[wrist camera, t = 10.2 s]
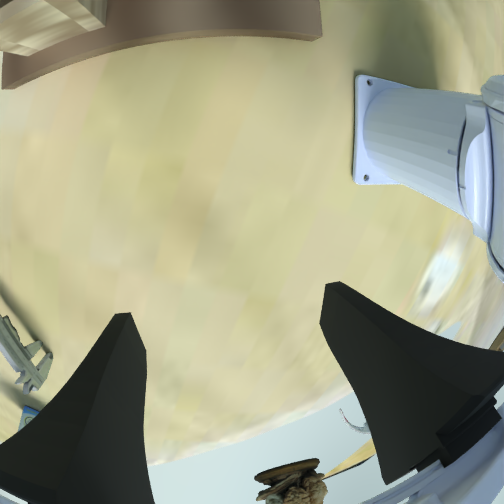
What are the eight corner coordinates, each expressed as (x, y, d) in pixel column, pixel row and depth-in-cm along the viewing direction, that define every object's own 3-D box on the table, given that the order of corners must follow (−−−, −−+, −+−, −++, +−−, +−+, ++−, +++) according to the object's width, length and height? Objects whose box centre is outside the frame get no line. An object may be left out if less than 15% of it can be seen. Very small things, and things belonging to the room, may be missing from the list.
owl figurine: (253, 480, 54) (267, 531, 39) (246, 472, 48) (262, 531, 33) (317, 463, 55) (336, 512, 41) (320, 453, 50) (343, 509, 35)
